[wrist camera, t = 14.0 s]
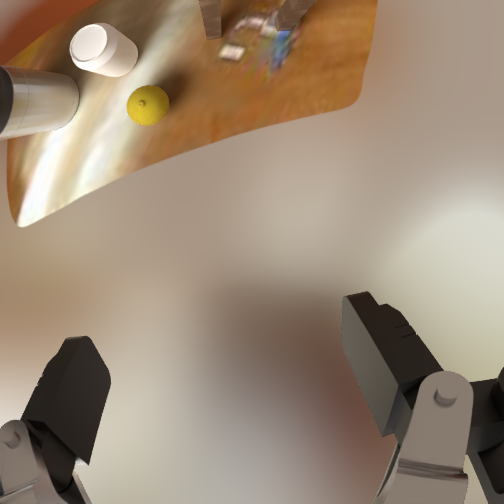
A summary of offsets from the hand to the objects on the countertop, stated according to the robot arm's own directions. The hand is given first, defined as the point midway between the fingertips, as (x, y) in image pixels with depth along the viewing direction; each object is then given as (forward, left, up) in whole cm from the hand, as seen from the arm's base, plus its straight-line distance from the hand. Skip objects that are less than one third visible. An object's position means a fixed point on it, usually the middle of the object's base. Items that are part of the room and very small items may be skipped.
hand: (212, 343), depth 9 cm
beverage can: (-12, +19, -38) cm, 44 cm away
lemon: (-8, +10, -38) cm, 40 cm away
